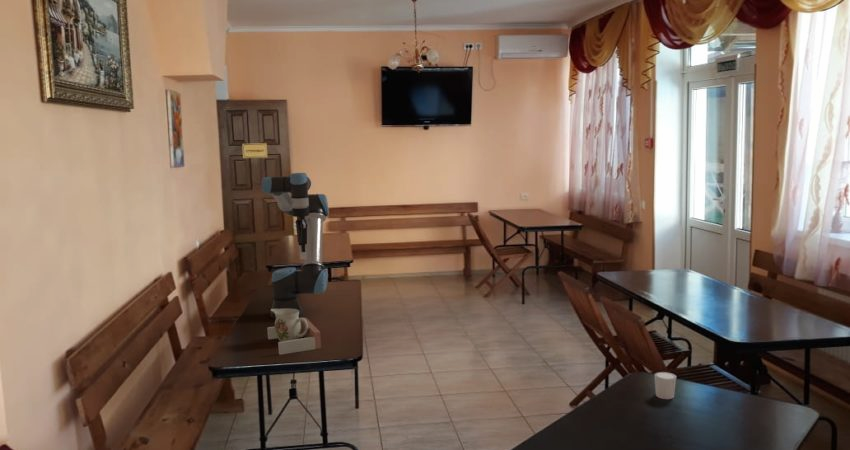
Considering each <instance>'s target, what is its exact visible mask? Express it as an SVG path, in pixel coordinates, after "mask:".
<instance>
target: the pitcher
mask: <svg viewBox="0 0 850 450" xmlns="http://www.w3.org/2000/svg"><path fill="white" fill-rule="evenodd" d="M271 311H272V312H274V314H275V316H276V319H275V321H274V327H275V332H276V335H277V337H278V338H277V339H278V340H279V341H278V342H283V341H289V340H296V339H300V338H303V337H304V336H305V335H306V333H307V332H308V323H307V321H306V320H305V319H304V318H305V317H300V316H299V310H297V309H288V308H286V309H272V308H270V312H271ZM301 321H303V322H304V324H305V331H304V332H303V333H302V334H300V331H301Z"/></svg>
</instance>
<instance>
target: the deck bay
mask: <svg viewBox="0 0 850 450" xmlns="http://www.w3.org/2000/svg"><path fill="white" fill-rule="evenodd" d="M303 318H304V319H305V320H306V321H307V323H308V332H307V333H306V335H305V336H303V337H304V338H303V337H301V338H298V339H296V340H289V341H283V342H280V341H278V342H277V345H278V346H277V347H278V355H287V354H292V353H293V354H294V353H298V352H305V351H311V350H317V349H322V340H321V331H320V330H319V328H317V327H316V326H315V325H314V324H313V323H312V322H311V321H310V320H309V319H308V318H307V317H303ZM300 323H301V331H300V334H302V333H303V332H304V331H305V324H304V322H303V321H300ZM266 328H267V329H266V330H267V339H268V340H272V339H273V340H274V339H278V337H277V335H276V332H275V326H269V327H266Z"/></svg>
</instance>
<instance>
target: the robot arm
mask: <svg viewBox="0 0 850 450" xmlns="http://www.w3.org/2000/svg"><path fill="white" fill-rule="evenodd" d="M311 186H312V180H311V179H310V177H309V176H308V174H307V173H305V172H293V173H290V175H289V176H287V175H286V176H266V177H263V178H262V179H261V191H262V193H264V194H271V196H272V197H273V199H275V201H276V202H277V208H279V210H280V211H282V212H283V213H284V214H286V215H288V216H290V217H296V220H295V221H294V222H295V227H296V237H297V243H298V248H299V259H300V260H304V264H302V265H301V267H300V268H301V269H300V270H297V268H296V267H293V266H289V267H283V268H280V269H279V268H278V269H277V270H275V271H273V272H272V273H271V274H272V275H271V284H272V296H273V302H272V305H271V309H286V308H288V309H297V310H299V317H301V316H302V314H303V311H302V306H301V304H300V302H299V299H298V295H311V294H312V295H317V294H323V293H325V292H326V289H327V286H328V279H329V278H328V277H329V273H328V272H329V271H328V269H326V268H325V265H324V264H323V233H324V232H323V229H324V228H323V227H324V226H323V224H324V222H326V219H327V217H329V216H330V211H329V203H328V199H327V195H325V194H324V193H315V194H314V193H313V194H310V193H309V190H310V189H311ZM270 317H271V318H272V319H275V320H276V316H275V314H274V312H272V311H271V310H270Z"/></svg>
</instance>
